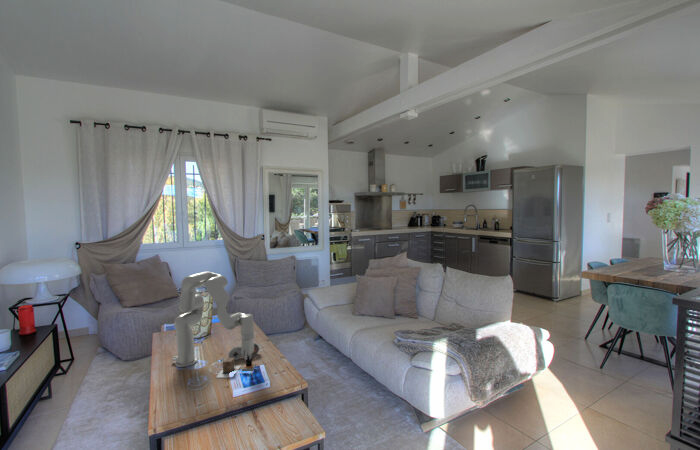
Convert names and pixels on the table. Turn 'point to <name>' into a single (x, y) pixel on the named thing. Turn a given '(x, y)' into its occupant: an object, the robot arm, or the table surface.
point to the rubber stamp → (228, 365)
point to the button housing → (248, 368)
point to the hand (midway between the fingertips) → (249, 365)
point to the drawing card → (226, 375)
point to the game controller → (236, 352)
